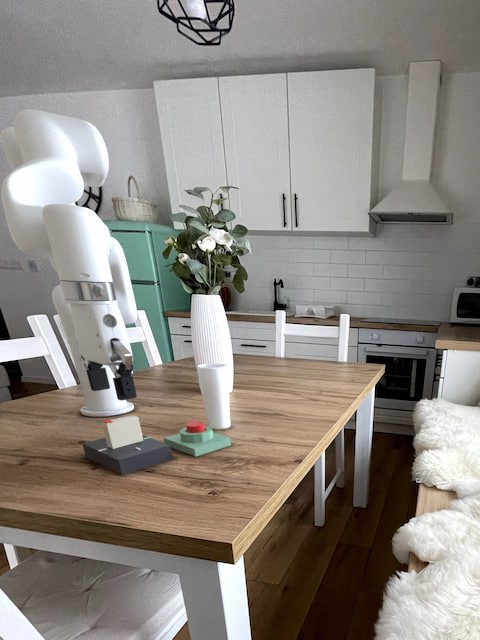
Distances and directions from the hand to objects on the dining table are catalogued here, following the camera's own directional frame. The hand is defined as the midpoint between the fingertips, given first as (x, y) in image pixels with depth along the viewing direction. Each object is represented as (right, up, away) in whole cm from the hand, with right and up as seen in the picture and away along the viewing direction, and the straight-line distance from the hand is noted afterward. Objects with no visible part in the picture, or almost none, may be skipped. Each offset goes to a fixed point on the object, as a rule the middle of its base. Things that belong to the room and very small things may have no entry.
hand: (113, 394), depth 74 cm
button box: (+11, -8, +13) cm, 19 cm away
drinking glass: (+11, -3, +25) cm, 27 cm away
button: (+11, -6, +11) cm, 17 cm away
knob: (0, -9, +4) cm, 10 cm away
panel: (0, -12, +5) cm, 13 cm away
